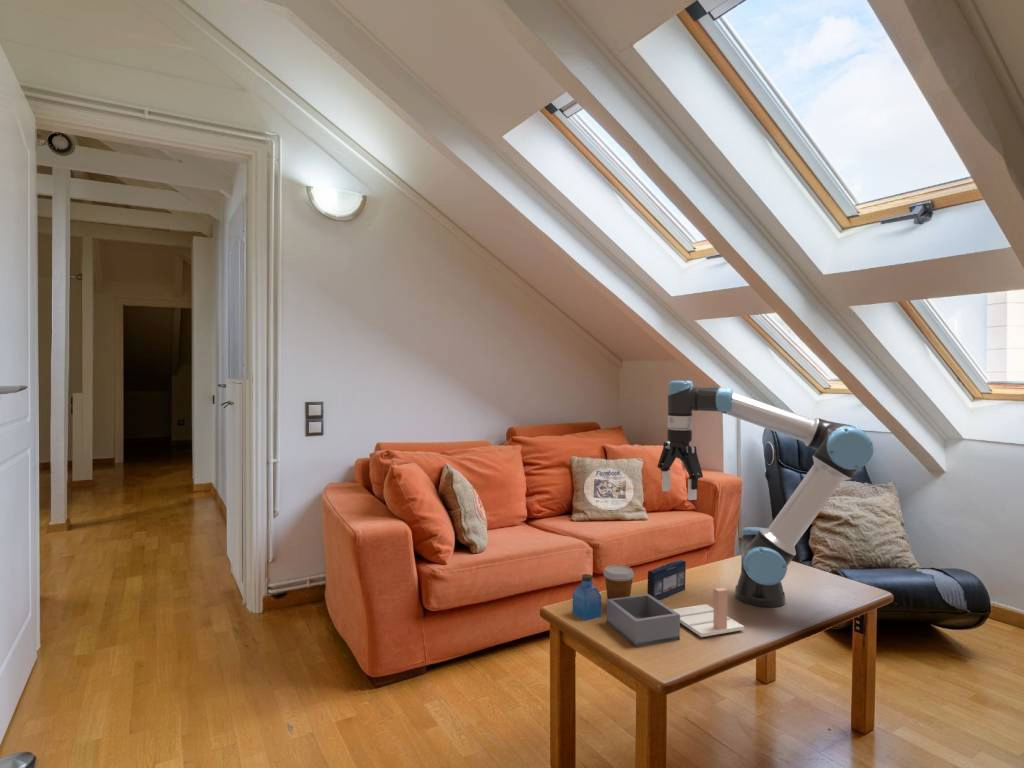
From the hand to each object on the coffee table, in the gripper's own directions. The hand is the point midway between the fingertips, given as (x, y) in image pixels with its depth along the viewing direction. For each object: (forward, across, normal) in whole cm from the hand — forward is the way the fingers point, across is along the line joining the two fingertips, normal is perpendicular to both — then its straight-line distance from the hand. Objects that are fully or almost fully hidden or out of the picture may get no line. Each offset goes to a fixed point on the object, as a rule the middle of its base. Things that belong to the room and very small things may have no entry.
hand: (678, 495), depth 187 cm
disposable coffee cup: (+35, -3, -20) cm, 40 cm away
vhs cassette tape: (+35, -6, +1) cm, 36 cm away
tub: (+35, +14, -22) cm, 44 cm away
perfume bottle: (+35, -1, -32) cm, 47 cm away
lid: (+34, +16, -2) cm, 38 cm away
